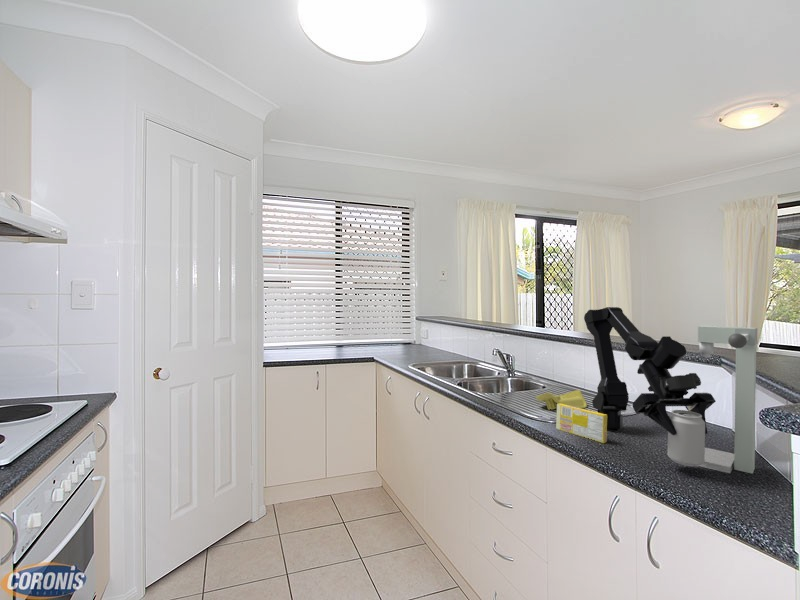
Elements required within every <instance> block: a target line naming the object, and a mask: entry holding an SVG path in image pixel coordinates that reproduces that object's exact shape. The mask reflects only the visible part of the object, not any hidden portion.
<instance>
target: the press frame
mask: <svg viewBox="0 0 800 600" xmlns="http://www.w3.org/2000/svg"><path fill="white" fill-rule="evenodd" d="M697 342H698V343H699V344H698V345H699V346H698V347H699V348H698V350H699V354H701V357H703V358H711V357H712V355H714V350H715V349H714V347H715V344H724V345H725V344H726V345H727V344H729V346H731V347H732V348H734V349H735V373H734V374H735V377H734V378H735V379H734V380H735V390H734V392H735V393H734V394H735V395H734V397H735V398H734V451H733V452H734V453H733V454H734V467H733V470H735V471H739V472H744V473H748V474H752V475H753V474H754V471H755V464H756V400H757V399H756V398H757V397H756V396H757V395H756V393H757V392H756V390H757V389H756V388H757V387H756V386H757V385H756V383H757V382H756V381H757V345H758V327H743V326H741V327H740V326H720V325H717V326H714V325H698V326H697Z"/></svg>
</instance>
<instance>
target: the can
mask: <svg viewBox="0 0 800 600" xmlns="http://www.w3.org/2000/svg"><path fill="white" fill-rule="evenodd" d="M668 416H669V418H670V420H671V422H672V424H673V426H674V428H675V430H676V433H677V434H676V435H672V434H671V433H669V432H668V431H667V456H668V457H669V458H670V459H671V461H673V462H674V463H676V464H679V465H682V466H688V467H700V466H699V465H700V464H702V463H704V459H705V448H706V435H705V422H704V420H703V419H702V418H701V417H702V415H701V414H699V413H696V412H692V411H688V410H686V409H685V410H683V409H675V410H671V414H670V415H668Z"/></svg>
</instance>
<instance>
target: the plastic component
mask: <svg viewBox="0 0 800 600" xmlns="http://www.w3.org/2000/svg"><path fill="white" fill-rule="evenodd" d="M535 398H536V400H537V401H538V402H545V404H546V407H547V410H548V411H550V409H551V410H555V409H557V404H559V403H561V404H565V405H569V406H573V407H577V408H581V409H586V408H587V407H588V404H587V401H586V399H585V397H584V395H583V393H582V391H581V390H578V389H575V390H573V391H569V392H566V393H564V394H560V395H559V394H557V395H556V394H553V393H551V392H544V393H542V394H540V395H537V396H535ZM585 407H586V408H585Z"/></svg>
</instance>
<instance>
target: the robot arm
mask: <svg viewBox="0 0 800 600" xmlns="http://www.w3.org/2000/svg"><path fill="white" fill-rule="evenodd" d="M583 319H584V323H585V326H586V329H587V330H588V331H589V332H588V333H590V334H591V335H592V336H593V340H594V346H595V351H596V357H597V363H598V368H599V375H600V381H599V383H598V385H597V394H596V395H595V396H594V398H593V399H592V400H591V403H592V408H594V409H595V410H596V412H598V413H602V414H606V415H607V431H610V432H614V433H617V432H619V431H621V430H622V429H623V428H624V426H623V425H624V415H623V414H622V411H625V412H626V411H627V407H628V403H629V400H630V399H629V397H630V396H629V393H628V388H627V387H628V386H627V383H626V382H625V381H621V380H620V378H619V377H618V372H617V366H616V362H615V356H614V349H613V345H612V339H611V332H612V330H613V329H614V330H615V332H616V333H617V334H618V335H619V337H621V339H622V340H623V342H624V343H625V346H624V350H625V351H626V353H627V355H628V357H629V358H630V359H631V360H632V361H643V362H642V363H640V364H639V365H638V368H637V372H636V373H637V374H638V375H644V377H645V379H646V381H647V383H648V385H649V386H648V387H647V390H648V391H649V393H648V392H646V393H645V392H643V393H642V392H641V393H640V394H639V396H638V397H636V399H634V401H633V402H632V408H633V411H634V412H635V414H643V416H644V417H648V418H649V419H651V420H652V421H654V422H655V423H657V424H658V425H659V426H661V427H662V428H663V429H665V431H667V433H668V432H669V433H671V434H672V435H676V434H677V433H676V430H675V428H674V426H673V424H672V422H671V420H670V418H669V416H670V415H669V414H668V413H667V407H685V410H686V411H692V412H696V413H699V414H701V415H702V417H701V418H702V419H703V420H704V422H705V436H706V435H707V434H709V433H708V428H707V422H706V421H707V420H706V411H707V410H708V409H709V408H710V407H711V406H712V405H713V404H714V403H716V399H715V398H714V396H713V395H712V393H709V392H694V393H693V394H692V395H690V397H684V396H687V395H688V394H689V390H692V389H693V390H696V389H698V387H699V386H701V384H702V381H701V377H699V375H698V374H697V373H696V372H690V373H688V374H683V375H682V374H681V375H673V376H672V374H671V372H670V371H669V370H671V369H673V368H675V367H676V365H677V364H678V363H679V362H680V361H681V360H682V359H683V358H684V356H685V355H686V354H687V349H686V347H685V346H684V345H683V344H682V343H681V342H679V341H677V340H675V339H672V337H671V336H667V335H666V336H663V335H662V336H661V338H660V339H659V342H658V341H657V340H656V339H655V338H652V337H651V336H649V335H647V334H644V333H643V332H641V330H639V329H638V328H637V327H636V326H635V324H634V323H632V321H631V320H630V319H629V318H628V316H626V314H625V313H624V311H623V309H622V308H620V307H618V306H616V307H615V306H610V307H609V306H607V307H604V308H600V309H588V311H587V312H585V314H584V317H583ZM650 392H651V393H650ZM652 392H653V393H652Z"/></svg>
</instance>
